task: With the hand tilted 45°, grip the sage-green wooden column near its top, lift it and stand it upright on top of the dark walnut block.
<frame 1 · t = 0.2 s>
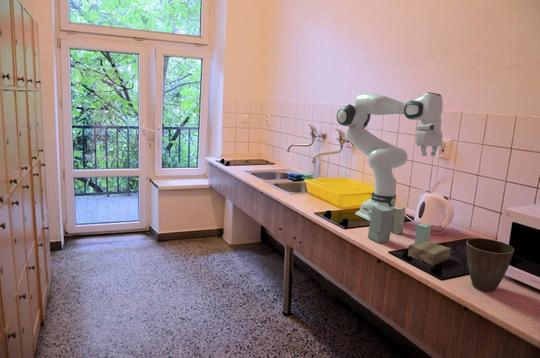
hand: (428, 155, 198), 38 cm above the worktop, tool pointing down, fingers open, 8 cm apart
box: (396, 232, 204), on the worktop
plant pot: (483, 287, 148), on the worktop
sage column: (421, 243, 190), on the worktop
skincare box: (379, 240, 193), on the worktop
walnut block: (428, 258, 174), on the worktop
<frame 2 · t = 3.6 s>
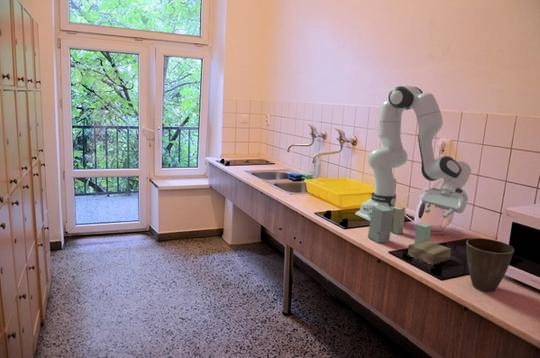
hand: (435, 214, 192), 13 cm above the worktop, tool tilted 45°, fingers open, 8 cm apart
nothing on the worktop moved.
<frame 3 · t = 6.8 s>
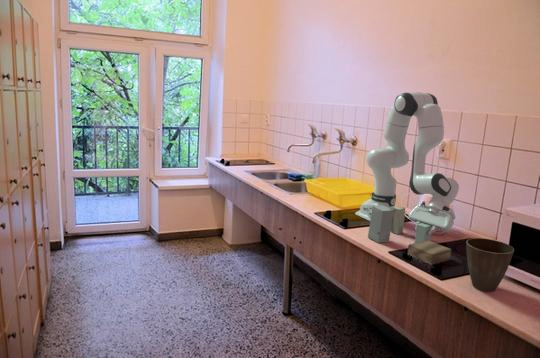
hand: (422, 232, 188), 5 cm above the worktop, tool tilted 45°, fingers closed on sage column, 4 cm apart
sage column: (421, 243, 190), on the worktop, touching gripper
everything else where it was.
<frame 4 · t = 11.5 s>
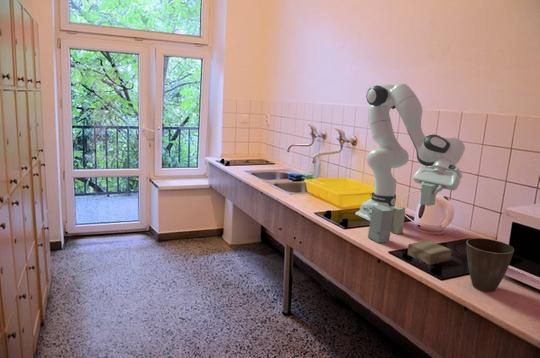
hand: (427, 192, 183), 25 cm above the worktop, tool tilted 45°, fingers closed on sage column, 4 cm apart
sage column: (427, 204, 184), point 19 cm above the worktop, touching gripper
everything else where it was.
when the fingers open (12 cm above the worktop, at t = 16.2 s): sage column drops 2 cm, resting on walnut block.
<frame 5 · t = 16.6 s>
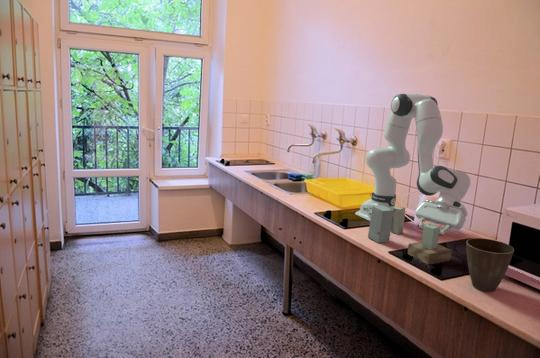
hand: (430, 230, 171), 12 cm above the worktop, tool tilted 45°, fingers open, 8 cm apart
sage column: (429, 246, 173), point 5 cm above the worktop, touching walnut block
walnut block: (428, 258, 174), on the worktop, touching sage column
everything else where it was.
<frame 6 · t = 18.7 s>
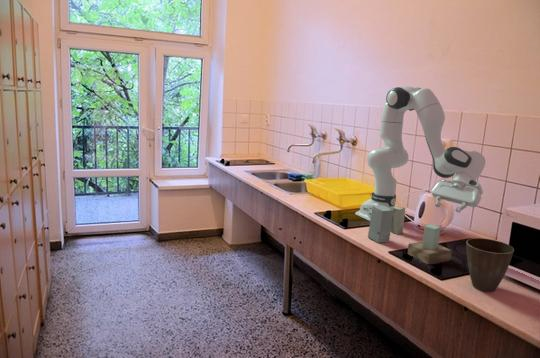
hand: (446, 208, 176), 20 cm above the worktop, tool tilted 45°, fingers open, 8 cm apart
nothing on the worktop moved.
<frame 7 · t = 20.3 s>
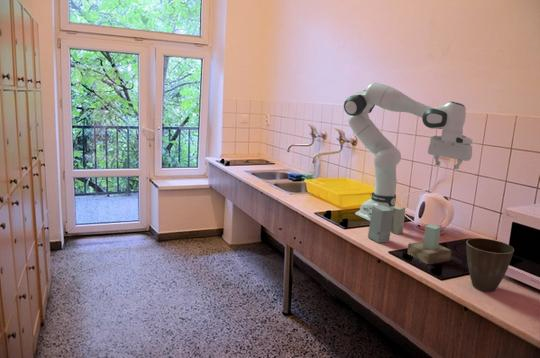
hand: (446, 167, 193), 34 cm above the worktop, tool pointing down, fingers open, 8 cm apart
sage column: (430, 247, 173), point 5 cm above the worktop
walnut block: (428, 258, 174), on the worktop
everything else where it was.
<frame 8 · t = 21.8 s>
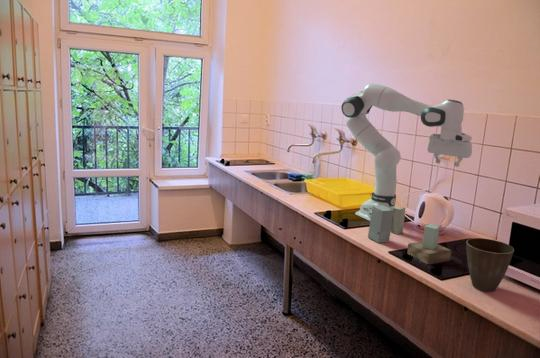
hand: (447, 164, 194), 35 cm above the worktop, tool pointing down, fingers open, 8 cm apart
sage column: (429, 246, 173), point 5 cm above the worktop, touching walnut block
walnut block: (428, 258, 174), on the worktop, touching sage column
everything else where it was.
at the end: sage column inside the target area on the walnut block (0.0 cm from its centre), point 5.0 cm above the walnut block's base; sage column tilted 1°; the gripper is holding nothing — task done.
